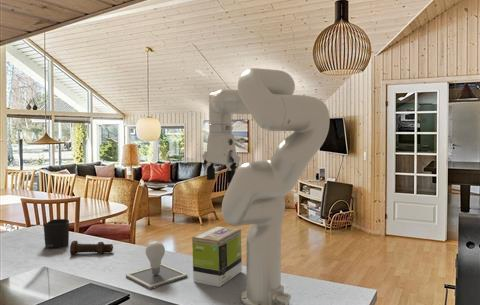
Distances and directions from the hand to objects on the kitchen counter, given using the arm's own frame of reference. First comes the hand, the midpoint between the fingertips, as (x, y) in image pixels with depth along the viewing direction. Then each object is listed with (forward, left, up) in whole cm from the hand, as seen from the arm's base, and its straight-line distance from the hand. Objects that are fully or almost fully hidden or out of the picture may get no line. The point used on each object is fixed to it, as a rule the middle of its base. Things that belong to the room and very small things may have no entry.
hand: (220, 181), depth 133 cm
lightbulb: (+10, +19, -30) cm, 37 cm away
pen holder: (+68, +28, -31) cm, 80 cm away
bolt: (+48, +22, -31) cm, 61 cm away
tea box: (-4, +5, -31) cm, 31 cm away
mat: (+10, +19, -30) cm, 37 cm away
